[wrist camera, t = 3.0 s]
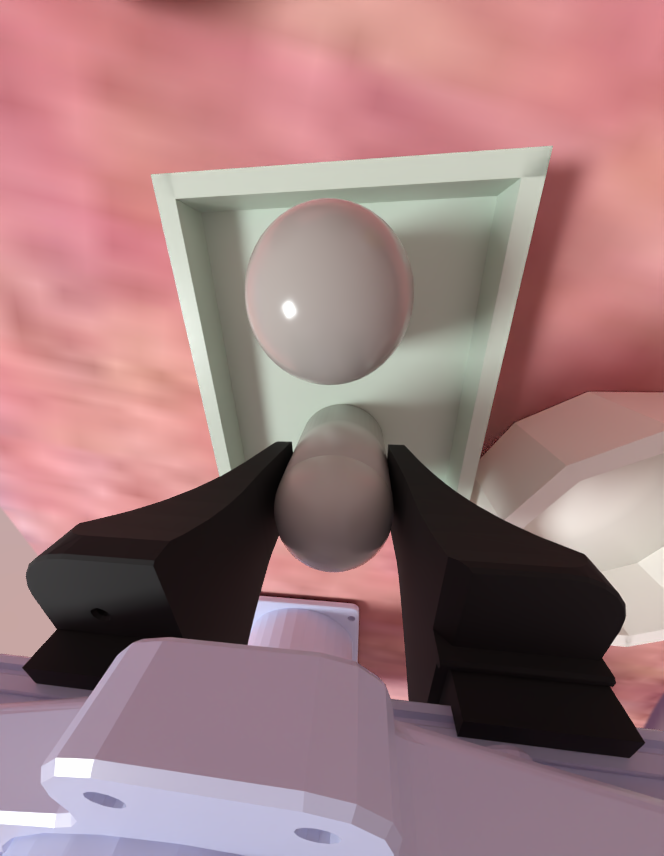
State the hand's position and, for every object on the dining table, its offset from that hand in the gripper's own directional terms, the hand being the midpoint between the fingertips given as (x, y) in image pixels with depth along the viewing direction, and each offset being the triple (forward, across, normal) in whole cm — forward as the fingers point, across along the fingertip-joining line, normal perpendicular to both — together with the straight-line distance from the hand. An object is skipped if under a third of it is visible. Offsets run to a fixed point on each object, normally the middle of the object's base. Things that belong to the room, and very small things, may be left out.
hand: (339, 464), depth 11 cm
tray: (+2, 0, -3) cm, 4 cm away
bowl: (+2, -12, +3) cm, 12 cm away
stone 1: (+2, 0, -6) cm, 6 cm away
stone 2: (+2, 0, 0) cm, 2 cm away
